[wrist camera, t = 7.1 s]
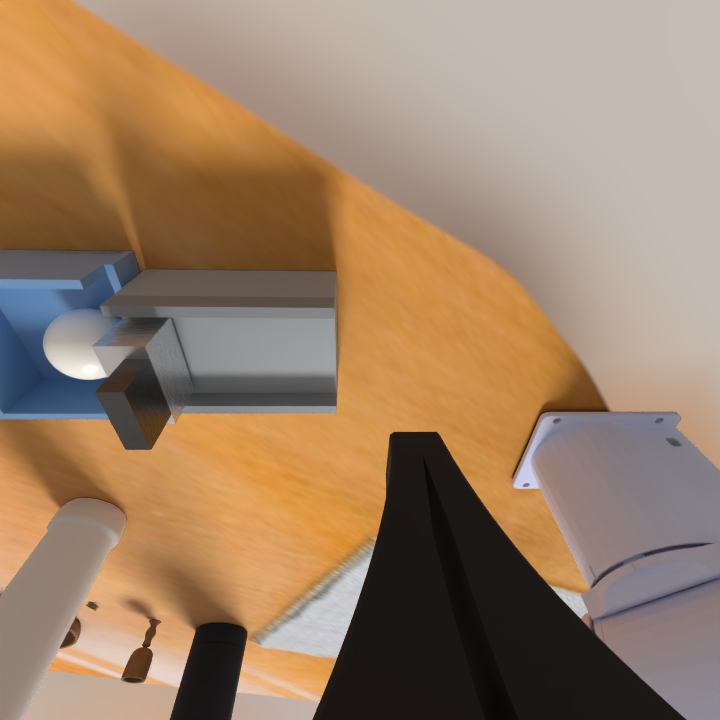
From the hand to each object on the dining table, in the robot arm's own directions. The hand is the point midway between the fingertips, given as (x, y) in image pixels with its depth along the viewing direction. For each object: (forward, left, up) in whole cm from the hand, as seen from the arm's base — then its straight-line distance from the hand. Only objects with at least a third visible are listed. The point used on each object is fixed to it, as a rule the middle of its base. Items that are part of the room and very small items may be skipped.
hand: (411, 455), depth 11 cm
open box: (+16, +2, -10) cm, 19 cm away
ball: (+15, +2, -8) cm, 17 cm away
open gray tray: (+8, +2, -10) cm, 13 cm away
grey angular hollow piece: (+11, +2, -7) cm, 13 cm away
